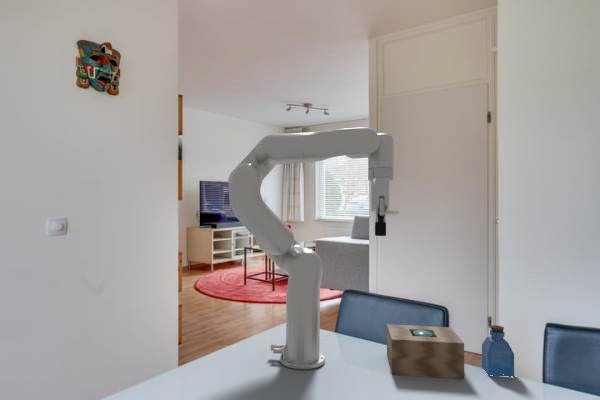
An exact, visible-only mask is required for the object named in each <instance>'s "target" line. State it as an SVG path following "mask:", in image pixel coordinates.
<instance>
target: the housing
mask: <svg viewBox="0 0 600 400" xmlns="http://www.w3.org/2000/svg"><path fill="white" fill-rule="evenodd" d="M414 330H426V331H430V332H432V333H433V337H421V336H413V331H414ZM386 356H387V361H388V364H389V365H388V366H389V369H390V374H391V375H395V376H397V375H398V376H410V377H424V378H426V377H427V378H439V379H454V380H465V342H464V341H463V340H462V339H461V338H460V337H459V335H458V334H457V333H456V332H455V331H454V330H453V329H452V327H450V326H449V327H446V326H429V325H427V326H426V325H410V324H409V325H408V324H407V325H406V324H393V323H390V324H389V323H387V324H386Z"/></svg>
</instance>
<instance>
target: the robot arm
mask: <svg viewBox="0 0 600 400" xmlns="http://www.w3.org/2000/svg"><path fill="white" fill-rule="evenodd" d="M394 145H395V144H394V137H393V136H392V134H389V133H377V132H376V131H375V130H374V129H372V128H369V127H351V128H349V127H348V128H338V129H331V130H321V131H320V130H319V131H311V132H294V133H293V132H292V133H290V132H289V133H288V132H287V133H273V134H268V135H265V136H264V137H263V138H261V139H260V141H258V143H257V144H256V145H255V146H254V147H253V148H252V150H251V151H250V152H249V153H248V154H247V155H246V156H245V157H244V158H243V159H242V161H241V162H239V164H238V165H237V166H236V167H234V169H233V170H232V171H231V172H230V174H229V175H228V178H227V181H228V182H227V183H228V186H229V191H228V196H229V197H228V199H229V204H230V207H231V209H232V212H233V214H234V216H235V217H236V219H237V220H238V221H239V222H240V223H241V224H242V225H243V226H244V227H245V229H246V230H247V231H248V232H249V233H250V234H251V235H252V236H253V237H254V239H255V243H256V245H257V246H258V248H259V249H260V250H261V251H262V252H263V253H264V254H265V255H266V256H267V257H268V258H269V259H270V260H271V261H272V263H274V264H275V265H276V266H277V267H278V268H279V269H280V270H281V271H282V272H283V273H284V274H285V275H287V276H288V279H287V285H286V296H285V299H286V301H285V302H286V303H285V304H286V305H285V306H286V308H285V309H286V311H285V312H286V314H285V319H286V320H285V342H284V343H282V344H278V343H271V344H270V351H271V352H273V354H280V356H279V362H280V363H281V364H282V365H283V366H285V367H286V368H289V369H290V368H291V369H295V370H313V369H317V368H319V367H321V366H323V365H324V364H325V362H326V357H325V355H324V354H323V353H321V351H320V343H321V341H320V333H321V331H320V330H321V327H320V326H321V325H320V324H321V319H320V318H321V286H322V279H323V270H324V267H323V262H322V258H321V256H319V254H318V253H317V252H316V251H314V250H312V249H310V248H308V247H304V246H302V245H301V244H300V243H299V242H298V241H297V240H296V239H295V237H294V233H293V231H292V229H291V228H290V227H289V225H287V224H286V223H285V222H284V221H283V220H282V219H281V218H280V217H279V216H278V215H277V214H276V213H275V212H274V211H273V210H272V209H271V208H270V207H269V206H268V205H267V203H266V202H265V201H264V199H263V197H262V194H261V193H262V191H261V188H262V184H263V181H264V179H266V178H267V176H268V175H269V174H270V173H271V172H272V170H273V169H274V168H275V167H276V166H277V165H288V164H289V165H290V164H302V163H304V164H305V163H315V162H316V163H317V162H321V161H325V160H328V159H332V158H337V157H344V156H345V157H347V158H349V159H364V158H367V161H368V162H367V164H368V165H367V169H368V171H367V173H368V174H367V175H368V176H367V179H368V181H371V184H370V185H371V186H370V212H371V213H374V212H375V222H374V236H376V237H386V236H387V222H386V220H387V219H386V218H387V217H386V215H387V212H389V207H390V181H394Z"/></svg>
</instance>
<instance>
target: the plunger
mask: <svg viewBox="0 0 600 400" xmlns="http://www.w3.org/2000/svg"><path fill="white" fill-rule="evenodd" d="M413 336H421V337H433V333H432V332H430V331H426V330H414V331H413Z"/></svg>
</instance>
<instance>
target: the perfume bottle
mask: <svg viewBox="0 0 600 400" xmlns="http://www.w3.org/2000/svg"><path fill="white" fill-rule="evenodd" d="M504 328H505V327H504V326H502V325H496V324H492V325H490V330H489V335H490V336H487V337H485V339H484V340H483V342H482V343H481V368H482V369H483V371H484V370H485V371H486V372H485V371H484V372H485V374H486V373H487V374H488V375H487V374H486V375H487V377H490V375H493V376H509V377H511V376H513V377H514V378H515V353H514V351H513V349H512V347H511V345H510V343H509V341H507V340H506V339H505V338H504V337H506V335H505V331H504V330H505V329H504ZM503 374H504V375H503Z"/></svg>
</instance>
